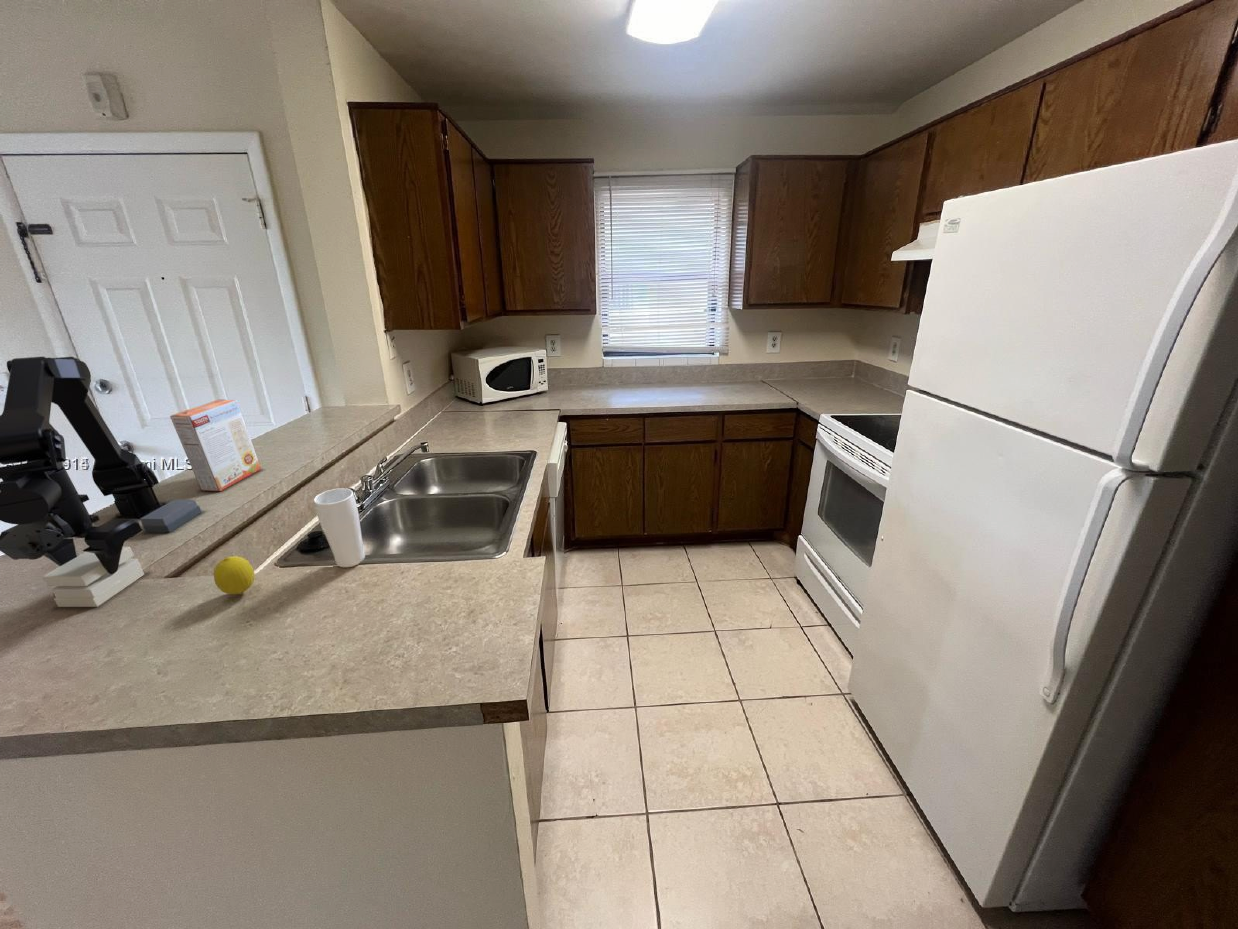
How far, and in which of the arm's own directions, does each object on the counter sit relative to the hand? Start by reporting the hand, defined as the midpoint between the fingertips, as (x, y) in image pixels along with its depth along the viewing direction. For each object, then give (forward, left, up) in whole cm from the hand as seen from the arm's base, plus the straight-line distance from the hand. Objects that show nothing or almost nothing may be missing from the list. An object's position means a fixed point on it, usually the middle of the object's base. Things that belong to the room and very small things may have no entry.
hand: (94, 572), depth 86 cm
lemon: (+1, +26, -4) cm, 26 cm away
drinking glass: (-9, +41, -4) cm, 42 cm away
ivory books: (0, 0, -4) cm, 4 cm away
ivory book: (0, 0, +1) cm, 1 cm away
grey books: (-24, -7, -4) cm, 25 cm away
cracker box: (-46, -10, -4) cm, 47 cm away
